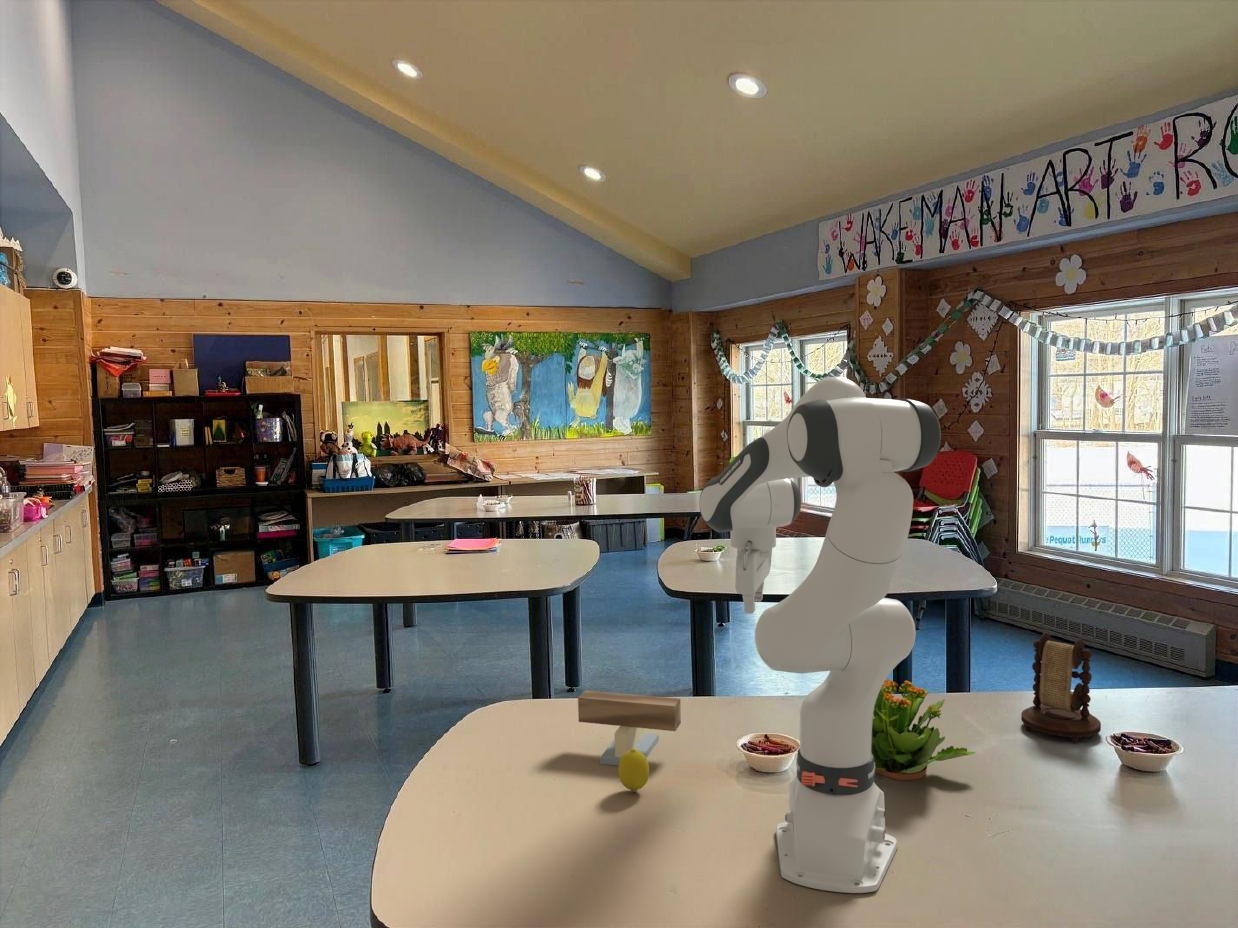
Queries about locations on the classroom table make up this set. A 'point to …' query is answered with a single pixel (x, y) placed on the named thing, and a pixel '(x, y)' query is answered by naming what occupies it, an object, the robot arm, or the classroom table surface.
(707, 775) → the classroom table surface
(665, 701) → the walnut bar
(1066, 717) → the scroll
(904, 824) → the classroom table surface
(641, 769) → the lemon
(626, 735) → the fulcrum
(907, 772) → the potted flower
